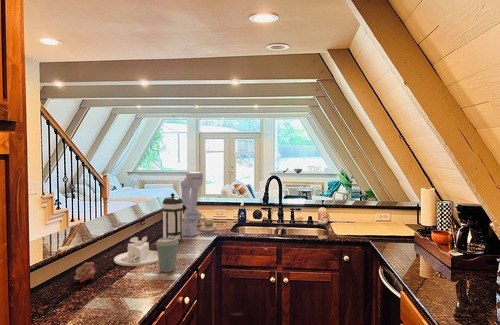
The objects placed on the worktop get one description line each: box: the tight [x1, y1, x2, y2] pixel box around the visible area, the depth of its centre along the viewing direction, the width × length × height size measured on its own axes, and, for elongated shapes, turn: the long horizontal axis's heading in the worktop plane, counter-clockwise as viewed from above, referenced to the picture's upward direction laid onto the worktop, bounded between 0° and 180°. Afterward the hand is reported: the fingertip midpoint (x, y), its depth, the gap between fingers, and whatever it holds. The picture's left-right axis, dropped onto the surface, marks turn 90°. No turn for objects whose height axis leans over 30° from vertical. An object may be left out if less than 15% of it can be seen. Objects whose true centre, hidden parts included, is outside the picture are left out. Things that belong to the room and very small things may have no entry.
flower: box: [73, 261, 97, 284], centre depth 163 cm, size 10×9×8 cm
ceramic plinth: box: [200, 225, 217, 232], centre depth 266 cm, size 8×8×3 cm
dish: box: [113, 235, 159, 267], centre depth 196 cm, size 25×25×11 cm
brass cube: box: [203, 218, 214, 227], centre depth 266 cm, size 5×5×5 cm
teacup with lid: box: [197, 211, 206, 227], centre depth 285 cm, size 12×9×12 cm
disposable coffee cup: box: [155, 237, 180, 273], centre depth 177 cm, size 11×11×15 cm
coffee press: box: [161, 193, 184, 243], centre depth 232 cm, size 17×16×30 cm
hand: (185, 216), depth 265 cm, fingers open, 7 cm apart
